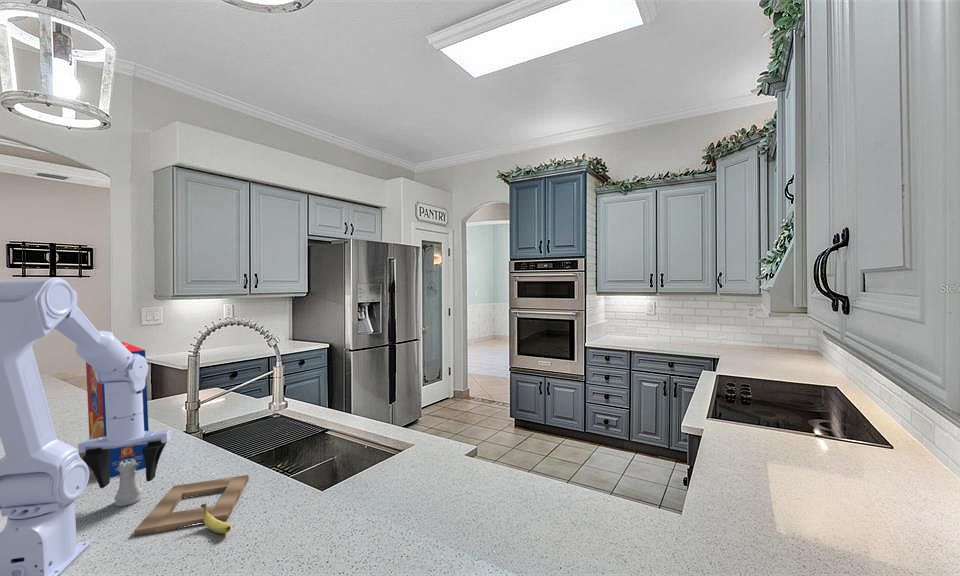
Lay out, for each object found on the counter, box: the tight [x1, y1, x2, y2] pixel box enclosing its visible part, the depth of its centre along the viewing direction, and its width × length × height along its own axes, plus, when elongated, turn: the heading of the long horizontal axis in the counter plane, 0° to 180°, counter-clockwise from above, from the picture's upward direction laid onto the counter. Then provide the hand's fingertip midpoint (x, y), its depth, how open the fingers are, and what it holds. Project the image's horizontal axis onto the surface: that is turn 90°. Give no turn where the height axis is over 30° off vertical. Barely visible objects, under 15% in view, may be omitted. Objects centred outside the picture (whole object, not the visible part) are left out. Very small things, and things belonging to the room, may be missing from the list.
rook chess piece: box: [113, 459, 144, 507], centre depth 85 cm, size 4×4×8 cm
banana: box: [199, 503, 232, 534], centre depth 73 cm, size 8×2×4 cm, turn 61°
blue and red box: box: [85, 341, 150, 478], centre depth 108 cm, size 28×8×28 cm, turn 48°
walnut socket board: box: [134, 474, 250, 537], centre depth 83 cm, size 17×14×1 cm
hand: (128, 482), depth 85 cm, fingers open, 7 cm apart
